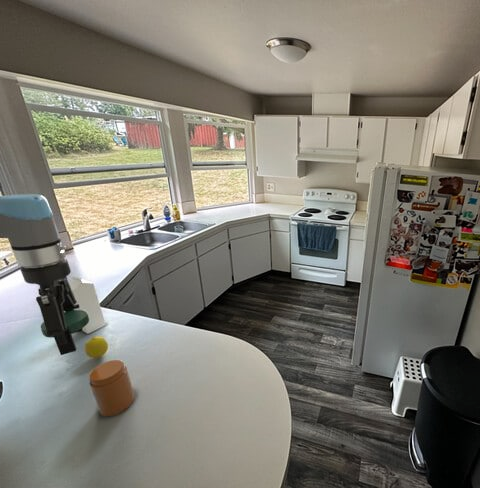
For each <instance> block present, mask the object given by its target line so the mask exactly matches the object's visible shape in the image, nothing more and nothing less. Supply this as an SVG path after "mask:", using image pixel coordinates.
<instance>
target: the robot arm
mask: <svg viewBox="0 0 480 488" xmlns="http://www.w3.org/2000/svg"><path fill="white" fill-rule="evenodd" d="M0 239H7V240H8V242H9V244H10V247H11V250H12V253H13V256H14V258H15V260H16V263H17V266H19V267H20V272H21V276H22V278H23V280H24V282H25V283H26V284H31V285H38V286H39V288H38V295H39V296H36V298H35V300H36V303H37V305H38V307H39V309H40V314H41V317H42V320H43V322H44V323H45V327H46V330H47V334H46V335H47V336H49V337H51V336H54V338H53V339H54V341H55V343H56V344H55V345H56V346H57V349H58V351H59V354H60V355H61V356H63V355H67V354H70V353H74V352H77V346H76V344H75V341H74V338H73V334H76V333H80V332H83V331H82V330H83V329H80V330H78V331H76V332H74V333H71V332H70V329H69V328H67V326H66V320H65V315H64V312H67V311H72V310H74V309H77V308H79V307H80V306H79V304H78V305H75V304H76V303H77V301H76V299H75V297H74V295H73V292H72V290H71V287H70V285H69V280H68V276H69V275H70V274H71V272H72V271H71V266H70V264H69V261H68V259H66V257H67V256H66V255H67V254H66V253H65V250H67V246H66V245H63V244H62V240H61V237H60V234H59V230H58V228H57V224H56V220H55V218H54V212H53V211H52V209H51V206H50V205H49V202H48V199H47V198H46V197H45V196H43V195H42V194H35V193H34V194H33V193H27V194H25V193H23V194H21V193H19V194H8V195H0ZM49 337H48V338H49Z"/></svg>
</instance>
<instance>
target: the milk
mask: <svg viewBox="0 0 480 488" xmlns="http://www.w3.org/2000/svg"><path fill="white" fill-rule="evenodd" d="M68 283H69V285H70V287H71V290H72V292H73V295H74V297H75V299H76V301H77V303H76V304H75V305H78V304H79V306H80V307H79V308H77V309H74V310H84V311H86V312H87V315H88V317H89V322H88V324H87V325H86V326H84V327H83V328H82V329H83V330H82V331H81V332H84V333H85V334H87V335H88V334H91V333H93V332H95V331H97V330H99V329H101V328H103V327H105V326H107V325H106V321H105V318H104V317H105V316H104V314H103V311H102V308H101V304H100V301H99V297H98V294H97V290H96V287H95V284H94V283H93V282H91V281H88V280H86V279H82V278H80V277H78V276H75V275H72V280H70V281H68Z"/></svg>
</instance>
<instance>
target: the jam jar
mask: <svg viewBox="0 0 480 488" xmlns="http://www.w3.org/2000/svg"><path fill="white" fill-rule="evenodd" d="M88 379H89V387H90V390H91V392H92V395H93V397H94V400H95V403H96V405H97V409H98V412H99V413H100V415H101V416H102V417H113V416H115V415H118V414H120V413H122V412H123V411H125V410H126V409H128V408H129V407H130V406H131V405H132V403H133V402H134V400H135V397H136V396H135V395H136V394H135V392H134V391H135V390H134V388H133V385H132V381H131V378H130V374H129V371H128V367H127V366H126V365H125V363H124V361H122V360H121V359H111V360H108V361H105V362H103V363H101V364H99V365H97V366H96V367H95V368H94V369H93V370H92V371H91V372H90V373H89V378H88Z"/></svg>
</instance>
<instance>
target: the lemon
mask: <svg viewBox="0 0 480 488" xmlns="http://www.w3.org/2000/svg"><path fill="white" fill-rule="evenodd" d="M108 349H109V343H108V342H107V340H106V339H105V338H104V337H102V336H92V337H91V338H90V339H88V340H87V341H86V342H85V345H84V350H85V354H86V355H87V356H88V357H89V358H92V359H97V358H101V357H102V356H104V355H105V354H106V353H107V351H108Z"/></svg>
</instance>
